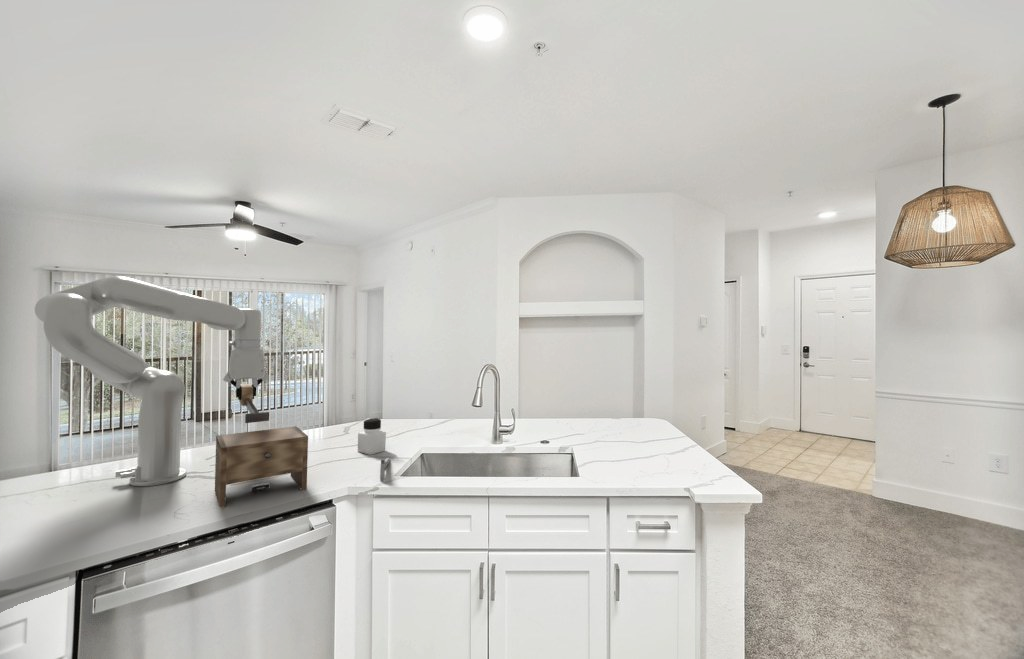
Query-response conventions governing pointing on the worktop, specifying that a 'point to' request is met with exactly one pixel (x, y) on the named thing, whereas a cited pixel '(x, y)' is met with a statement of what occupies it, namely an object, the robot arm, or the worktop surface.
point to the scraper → (251, 405)
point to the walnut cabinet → (260, 457)
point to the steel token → (260, 486)
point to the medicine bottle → (371, 437)
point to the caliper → (383, 468)
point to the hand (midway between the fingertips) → (246, 398)
